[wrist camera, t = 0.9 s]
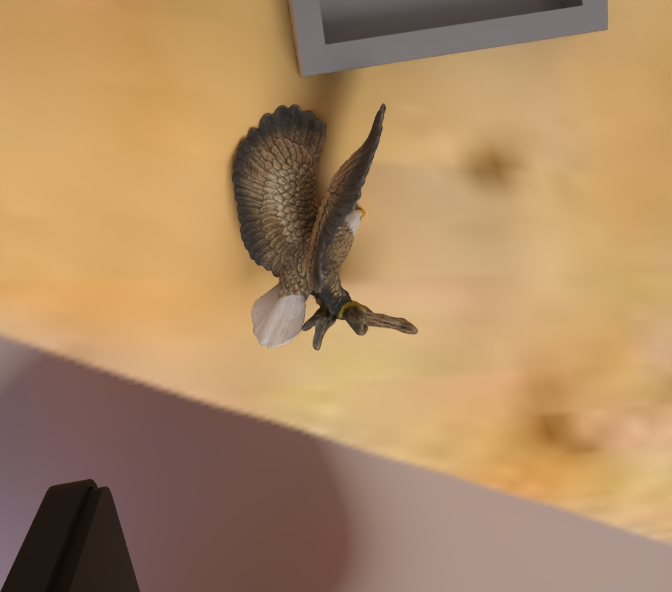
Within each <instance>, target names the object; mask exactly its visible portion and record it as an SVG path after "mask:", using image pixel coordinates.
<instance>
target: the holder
mask: <svg viewBox="0 0 672 592" xmlns="http://www.w3.org/2000/svg"><path fill="white" fill-rule="evenodd" d="M288 7H289V13H290V19H291V26H292V32H293V39H294V45H295V52H296V58H297V64H298V71H299V77H305V76H312V75H318V74H325V73H331V72H337V71H344V70H350V69H357V68H363V67H370V66H376V65H383V64H389V63H396V62H402V61H409V60H415V59H421V58H428V57H434V56H441V55H447V54H454V53H460V52H467V51H473V50H480V49H486V48H492V47H499V46H505V45H512V44H518V43H525V42H531V41H538V40H544V39H551V38H557V37H564V36H570V35H576V34H583V33H589V32H596V31H602V30H608V0H288Z"/></svg>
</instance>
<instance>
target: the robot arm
mask: <svg viewBox="0 0 672 592" xmlns="http://www.w3.org/2000/svg"><path fill="white" fill-rule="evenodd" d="M1 592H140V590H139V587H138V583H137V580H136V576H135V573H134V570H133V566H132V563H131V559H130V556H129V552H128V549H127V546H126V542H125V539H124V535H123V532H122V528H121V525H120V521H119V518H118V515H117V511H116V508H115V504H114V501H113V497H112V495H111V492H110V490H109V488H108V487H100V488H98V487H97V485H96V483H95V482H94V480H92V479H87V480H82V481H76V482H71V483H65V484H60V485H54V486H51V487H50V488H49V489H48V491H47V492H46V494H45V497H44V499H43V501H42V503H41V505H40V507H39V509H38V512H37V514H36V516H35V518H34V520H33V522H32V525H31V527H30V529H29V531H28V533H27V535H26V538H25V540H24V542H23V544H22V546H21V548H20V551H19V553H18V555H17V557H16V559H15V561H14V564H13V566H12V568H11V570H10V572H9V574H8V576H7V579H6V581H5V583H4V585H3V588H2V589H1Z"/></svg>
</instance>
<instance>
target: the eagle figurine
mask: <svg viewBox="0 0 672 592" xmlns="http://www.w3.org/2000/svg"><path fill="white" fill-rule="evenodd" d="M385 110H386V107H385V104H382V105H381V107H380V110H379V111H378V112H377V115H376V117H375V120H374V123H373V126H372V129H371V132H370V134H369V136H368V138H367V140H366V141H365V142H364V144H363V145H362V146H361V147H360V148H359V149H358V150H357V151H356V152H354V153H353V154H352V155H351V157H350V158H349V159H348V160H347V161H345V163H344V164H343V165H342V166H341V167H340V169H339V170H338V171H337V172H336V173H335V175H334V176H333V178H332V180H331V182H330V185H329V187H328V189H327V191H326V193H325V195H324V197H323V199H322V201H321V205H320V207H319V209H318V204H317V199H316V185H317V164H318V161H319V158H320V154H321V152H322V145H323V142H324V138H325V130H326V123H325V122H324V121H323V120H317V119H316V117H315V115H314V113H313V112H311V111H307V112H304V113H303V112H302V109H301V108H300V107H299V106H298V105H295V104H294V105H292V106H291V107H290V108H287V107H286V106H285V105H281V106H279V107H278V108H277V109H276V111H275V113H274V114H273V115H270V114H266V115H264V116H263V117H262V119H261V122H260V125H259V130H256V129H251V130H250V131H249V135H248V139H247V140H243V141H242V142H241V143H240V147H239V149H238V151H237V155H236V157H237V159H236V160H235V162H234V163H233V168H234V173H233V175H232V180H233V182H234V184H235V187H234V192H235V200H236V202H237V203H238V206H237V210H238V214H239V215H238V218H239V221H240V223H241V227H240V232H241V239H242V241H243V242H244V246H245V248H246V249H247V250H248V252H249V255H250V258H251V259H252V260H255V263H256V264H257V265H262V266H263V267H264V268H265V269H266V270H267V271H272V273H273V275H274V276H275V277H279V284H278V285H276V286H275V287H274V288H272V289H271V290H270V291H269V292H267V293H266V294H264V295H263V296H261V297H260V298H259V299H257V300H256V301H255V303H254V305H253V309H252V321H253V333H254V335H255V336H256V337H257V340H258V342H259V344H261V345H265V346H267V347H268V348H273V347H277V346H282V345H284V344H286V343H289V342H291V341H292V340H293V339H294V338H295V337H296V336H297V335H298V334H299V333H300V331H301V329H302V330H303V331H307V330H309V329H311V328H312V327H313V326H315V335H314V338H313V347H314V349H315V350H317V351H318V350H319V349H320V347H321V343H322V339H323V336H324V334H325V333H326V331H327V329H328V328H329V327H331V326H332V325H333V324H334V323H335V321H336V319H340V320H346V321H347V322H348V324H349V325H350V327H351V328H352V329H353V330H354V331H355V333H356V334H357V335H361V336H362V335H365V334H366V332H367V330H368V326H374V327H384V328H392V329H396V330H398V331H400V332H403V333H407V334H417V332H418V330H417V328H416V327H415V326H414V325H413V324H411V323H410V322H408V321H407V320H406V319H404V318H395V317H390V316H387V315H384V314H376V313H373V312H372V311H371V310H370V309H369V308H368V307H366V306H364V305H361V304H360V303H358V302H356V301H352V300H351V297H350V296H349V293H348V292H347V291H346V290H344V289H343V288H342V287H341V282H340V279H339V269H340V265H341V263H342V261H343V260H344V259H345V258H346V256H347V254H348V253H349V251H350V249H351V246H352V242H353V239H354V236H355V234H356V232H357V230H358V227H359V225H360V222H361V218H362V217H364V216H365V212H364V211H363V210H361V209H358V210H355V208H356V206H357V201H358V200H359V198H360V197H361V188H362V186H363V185H364V183H365V178H366V176H367V174H368V171H369V169H370V166H371V164H372V160H373V158H374V154H375V151H376V149H377V147H378V144H379V140H380V136H381V132H382V129H383V128H382V121H383V118H384V113H385ZM310 293H311V295H314V296H315V298H317V299H316V303H317V304H318V305H320V308H319V309H318V310H317V311H316V312H315V314H314V315H313V316H312V317H311V318H310V319H309V320H307V321H306V322H305V323H304V318H305V307H306V304H305V301H306V300H307V298H308V296H309V294H310ZM303 323H304V325H303Z"/></svg>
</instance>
